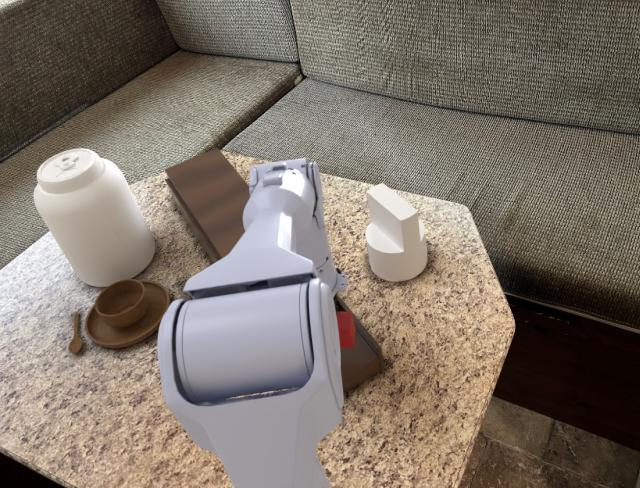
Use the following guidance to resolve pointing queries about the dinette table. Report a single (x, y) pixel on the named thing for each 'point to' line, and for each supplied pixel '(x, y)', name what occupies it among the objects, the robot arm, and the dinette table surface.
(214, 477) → the dinette table surface
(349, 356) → the long wooden plank
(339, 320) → the red rectangular block
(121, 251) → the can
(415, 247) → the base with upright slab
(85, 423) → the dinette table surface
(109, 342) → the place setting
